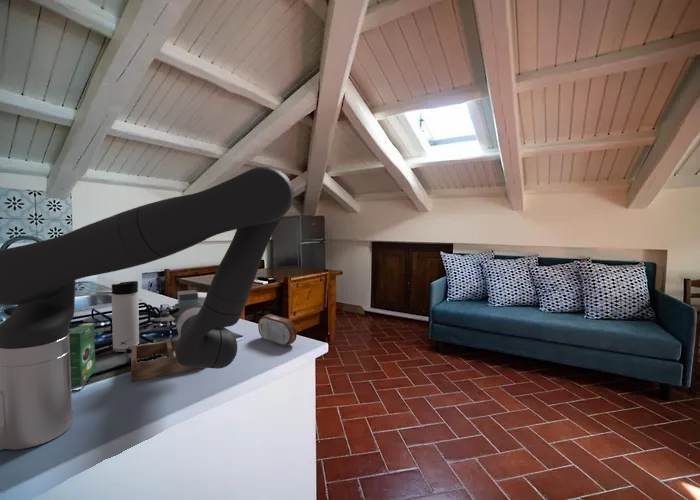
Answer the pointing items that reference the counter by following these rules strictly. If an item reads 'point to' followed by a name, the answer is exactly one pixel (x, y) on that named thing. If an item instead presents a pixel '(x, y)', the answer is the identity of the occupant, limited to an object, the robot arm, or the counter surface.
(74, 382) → the coffee box
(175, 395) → the counter surface
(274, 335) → the tin
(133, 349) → the caddy
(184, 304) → the teal square bottle
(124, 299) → the travel mug
